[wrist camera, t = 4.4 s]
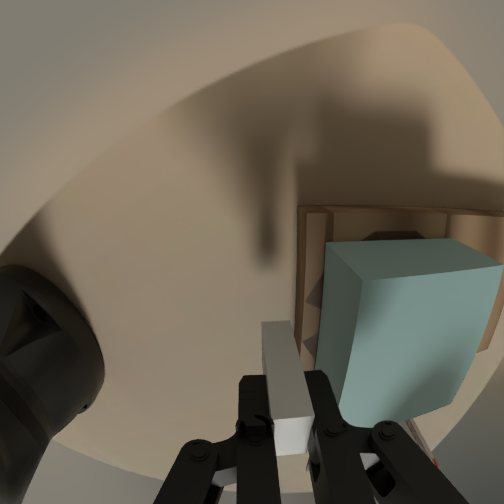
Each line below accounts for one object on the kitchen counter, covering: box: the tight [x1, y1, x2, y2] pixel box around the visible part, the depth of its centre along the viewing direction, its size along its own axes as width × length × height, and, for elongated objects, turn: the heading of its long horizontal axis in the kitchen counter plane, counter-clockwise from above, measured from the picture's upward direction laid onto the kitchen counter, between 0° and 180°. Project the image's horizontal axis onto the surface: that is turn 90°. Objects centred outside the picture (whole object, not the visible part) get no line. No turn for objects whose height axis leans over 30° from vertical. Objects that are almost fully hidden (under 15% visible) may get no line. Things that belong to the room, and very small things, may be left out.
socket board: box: [294, 205, 504, 371], centre depth 18 cm, size 20×13×2 cm, turn 92°
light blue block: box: [315, 238, 504, 428], centre depth 14 cm, size 9×10×5 cm
